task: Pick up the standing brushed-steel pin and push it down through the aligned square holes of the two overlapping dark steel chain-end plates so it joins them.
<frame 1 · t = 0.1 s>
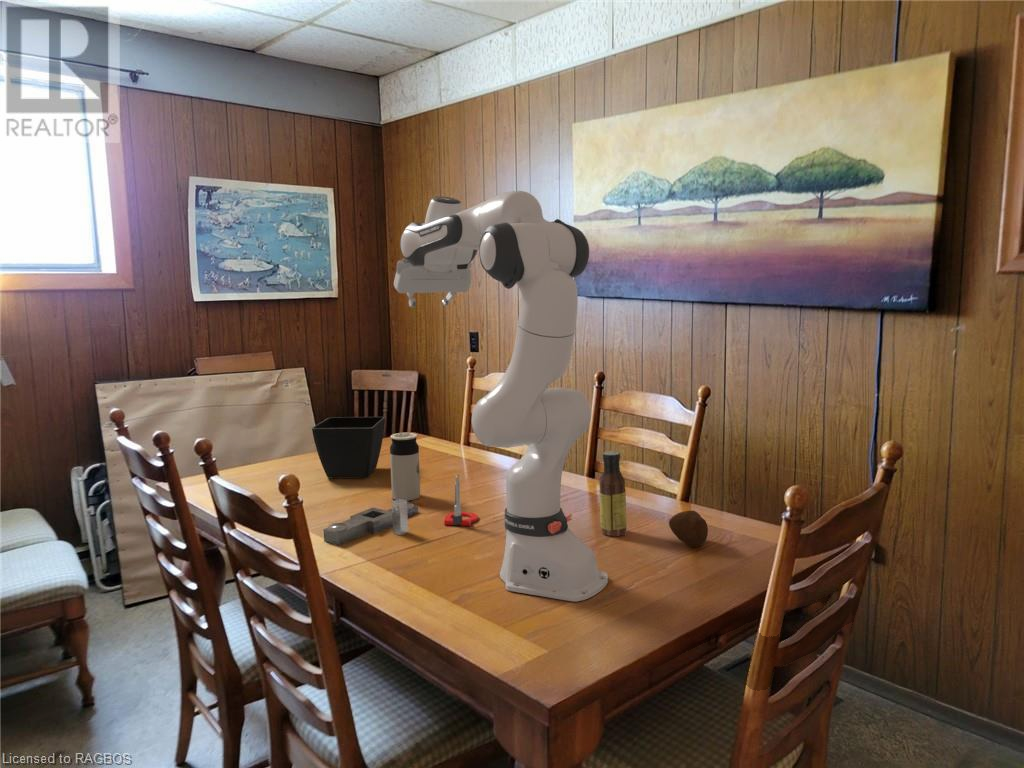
hand: (428, 305, 192), 54 cm above the table, tool tilted 30°, fingers open, 8 cm apart
travel mug: (406, 498, 205), on the table
chain end a: (373, 525, 182), on the table
chain end b: (373, 525, 182), on the table
sauce bottle: (612, 533, 175), on the table
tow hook: (460, 521, 185), on the table
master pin: (400, 532, 177), on the table
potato: (689, 544, 167), on the table
flower pot: (352, 474, 231), on the table
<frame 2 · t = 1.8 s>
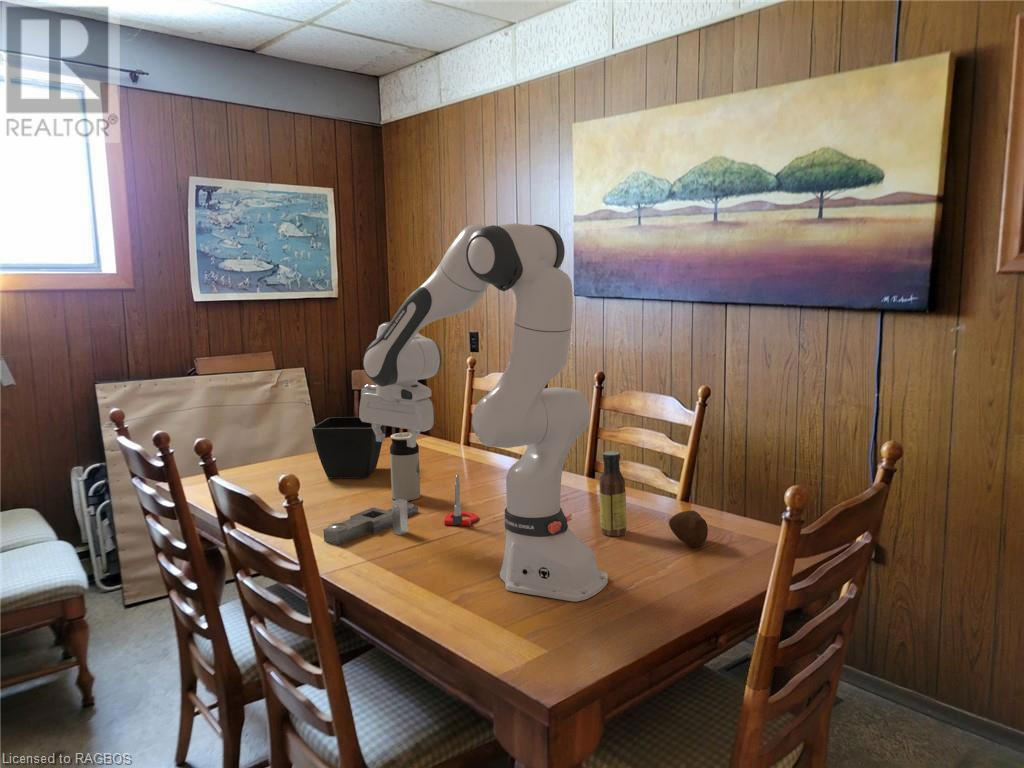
hand: (395, 444, 176), 22 cm above the table, tool pointing down, fingers open, 8 cm apart
nothing on the table moved.
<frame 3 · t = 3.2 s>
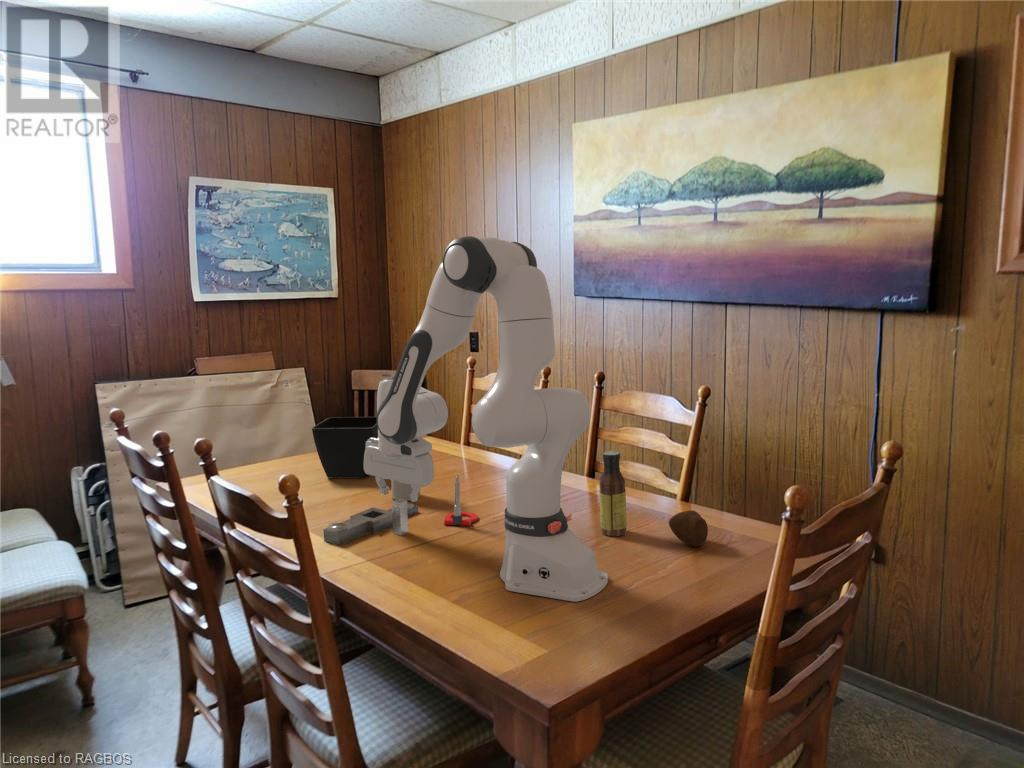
hand: (398, 497, 176), 9 cm above the table, tool pointing down, fingers open, 8 cm apart
nothing on the table moved.
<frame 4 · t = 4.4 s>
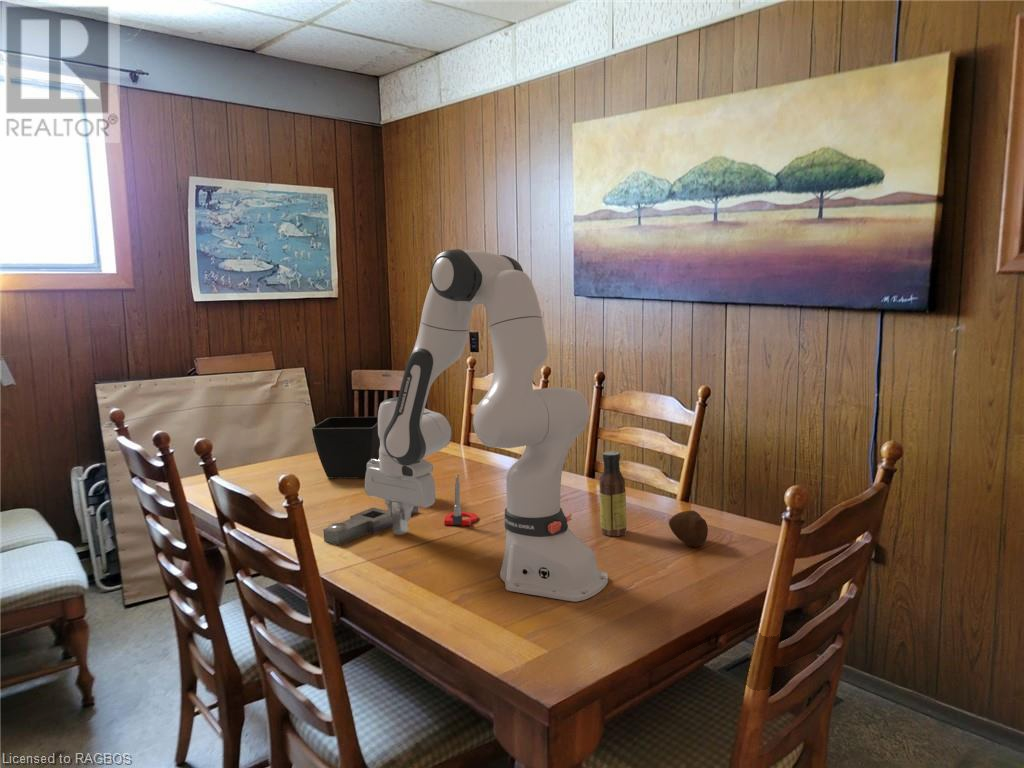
hand: (400, 518, 176), 4 cm above the table, tool pointing down, fingers closed on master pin, 3 cm apart
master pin: (400, 532, 177), on the table, touching gripper
everything else where it was.
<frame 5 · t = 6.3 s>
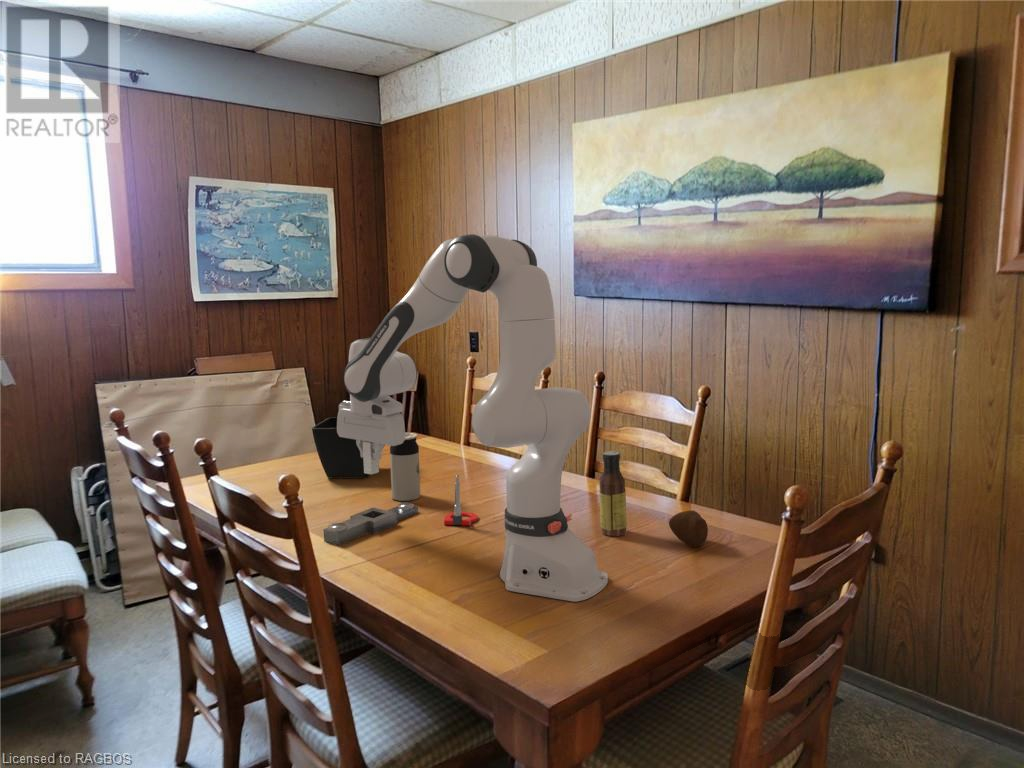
hand: (370, 458, 179), 17 cm above the table, tool pointing down, fingers closed on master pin, 3 cm apart
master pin: (371, 472, 180), point 14 cm above the table, touching gripper
everything else where it was.
when the fingers open (4 cm above the table, at t = 8.5 s): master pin stays where it is, resting in chain end a.
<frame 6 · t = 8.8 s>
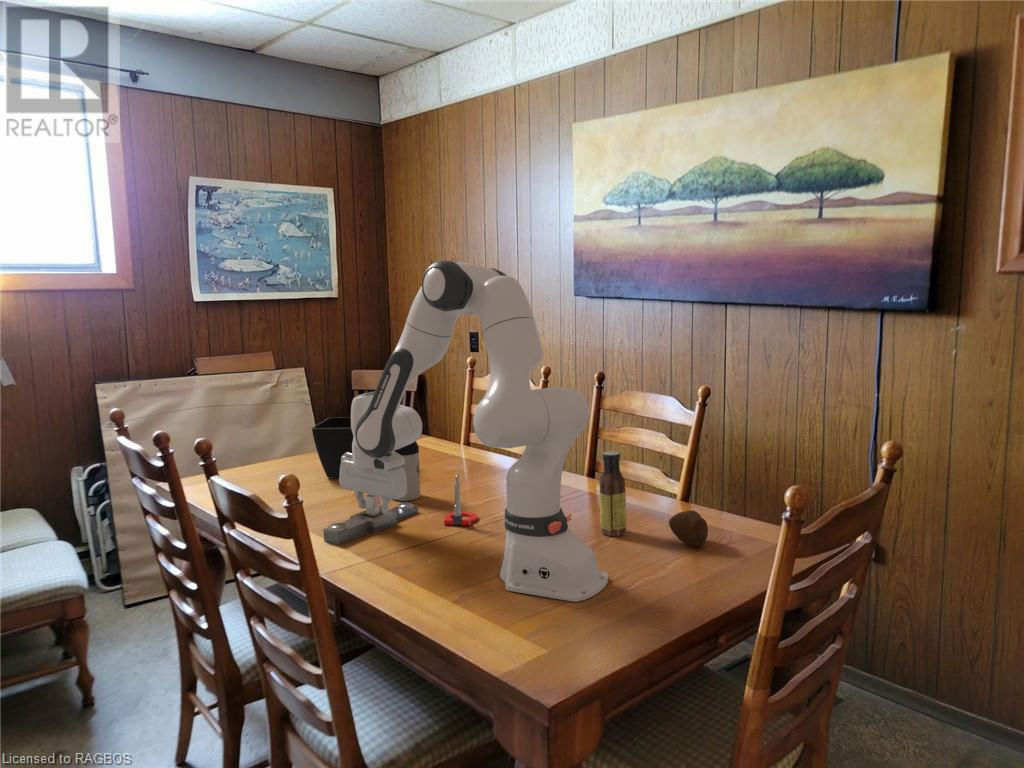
hand: (373, 510, 181), 4 cm above the table, tool pointing down, fingers open, 6 cm apart
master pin: (374, 526, 182), resting in chain end a
everything else where it was.
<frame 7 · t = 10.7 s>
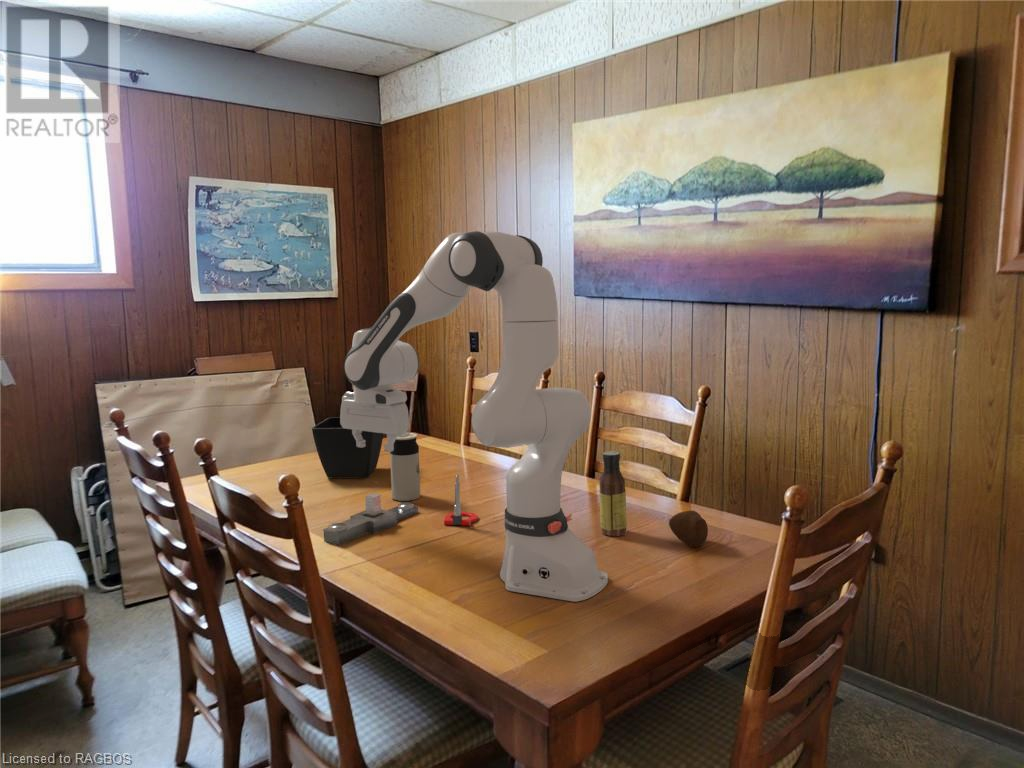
hand: (374, 449, 179), 20 cm above the table, tool pointing down, fingers open, 8 cm apart
nothing on the table moved.
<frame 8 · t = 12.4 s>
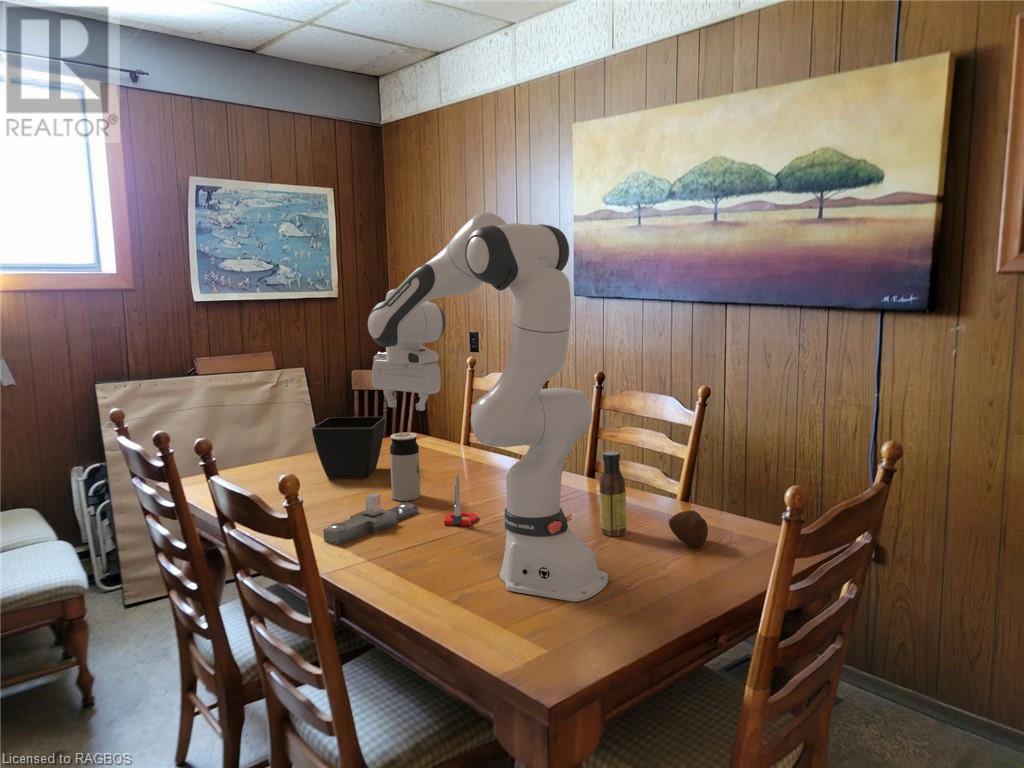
hand: (406, 408, 181), 29 cm above the table, tool pointing down, fingers open, 8 cm apart
nothing on the table moved.
at the end: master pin 0.1 cm from the target spot, resting in chain end a; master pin tilted 0°; the gripper is holding nothing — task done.
